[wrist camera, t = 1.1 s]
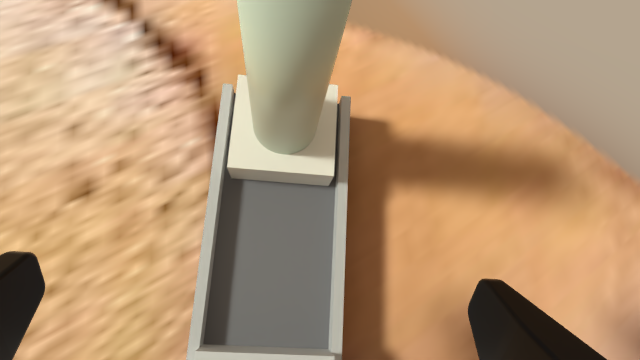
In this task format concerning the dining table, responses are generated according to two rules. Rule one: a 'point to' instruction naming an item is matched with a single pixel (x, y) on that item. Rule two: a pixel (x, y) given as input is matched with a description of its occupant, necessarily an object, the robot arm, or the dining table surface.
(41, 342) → the dining table surface
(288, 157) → the slider with handle
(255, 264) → the track
